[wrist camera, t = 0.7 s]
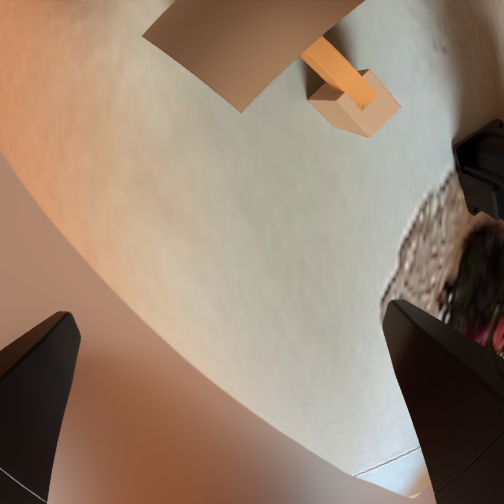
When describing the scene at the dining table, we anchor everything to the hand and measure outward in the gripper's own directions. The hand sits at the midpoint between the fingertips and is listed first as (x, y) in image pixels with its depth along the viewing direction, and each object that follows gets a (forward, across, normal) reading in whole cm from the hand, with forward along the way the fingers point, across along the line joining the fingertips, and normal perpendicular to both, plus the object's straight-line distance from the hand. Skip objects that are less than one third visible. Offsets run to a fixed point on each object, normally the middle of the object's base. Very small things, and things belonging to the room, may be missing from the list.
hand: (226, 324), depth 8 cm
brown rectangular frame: (+13, -2, -10) cm, 17 cm away
